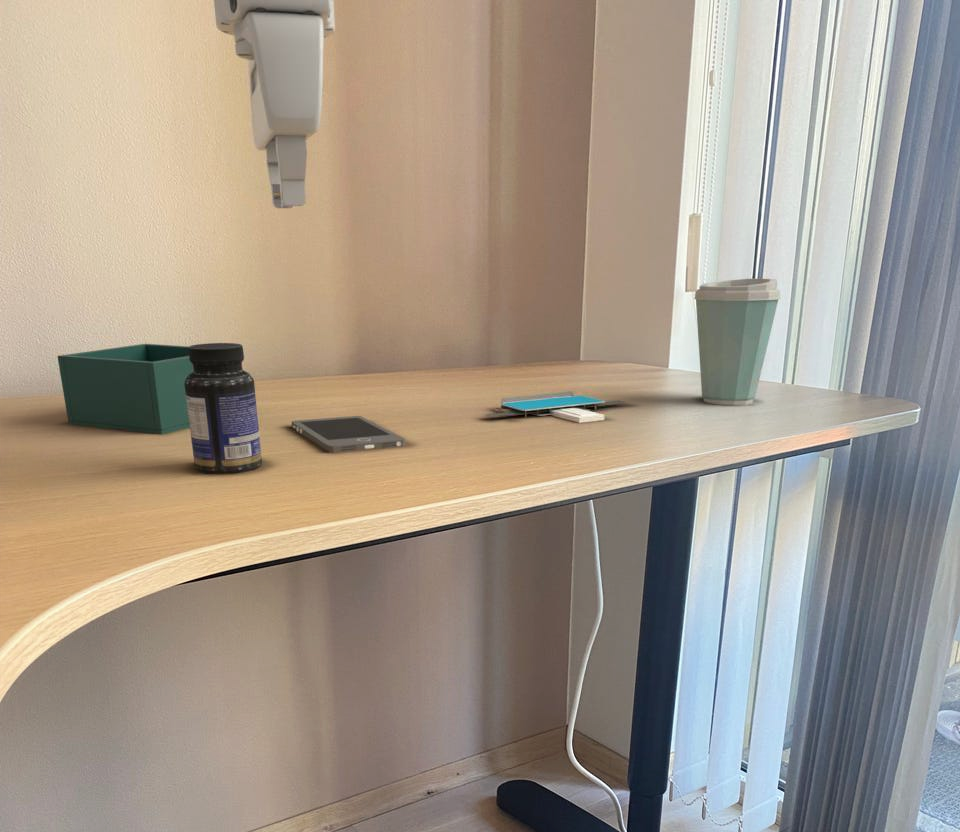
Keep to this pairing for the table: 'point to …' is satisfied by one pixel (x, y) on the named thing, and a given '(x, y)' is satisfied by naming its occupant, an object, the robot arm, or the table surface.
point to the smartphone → (347, 434)
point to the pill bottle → (222, 410)
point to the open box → (128, 387)
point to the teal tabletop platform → (553, 406)
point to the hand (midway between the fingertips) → (288, 207)
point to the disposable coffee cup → (734, 337)
